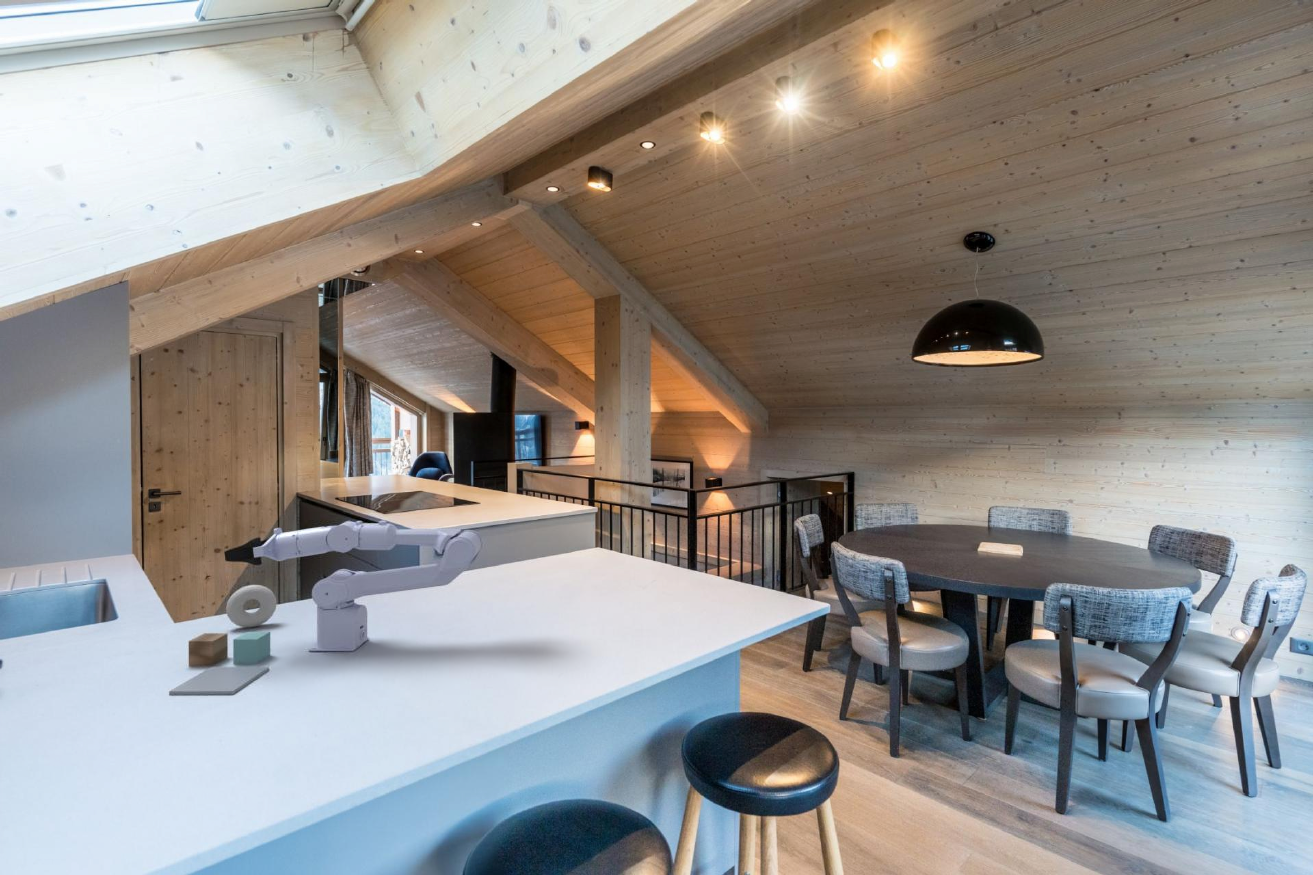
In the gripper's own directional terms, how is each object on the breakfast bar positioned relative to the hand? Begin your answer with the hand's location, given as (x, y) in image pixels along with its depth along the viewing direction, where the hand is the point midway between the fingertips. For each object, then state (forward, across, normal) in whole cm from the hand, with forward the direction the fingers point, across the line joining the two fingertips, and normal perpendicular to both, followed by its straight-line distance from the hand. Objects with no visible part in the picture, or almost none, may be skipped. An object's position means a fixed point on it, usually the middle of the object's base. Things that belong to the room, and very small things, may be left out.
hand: (236, 553), depth 133 cm
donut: (+7, -15, +19) cm, 25 cm away
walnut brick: (+4, +6, +20) cm, 22 cm away
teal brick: (-4, +6, +22) cm, 23 cm away
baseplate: (-4, +17, +22) cm, 28 cm away
